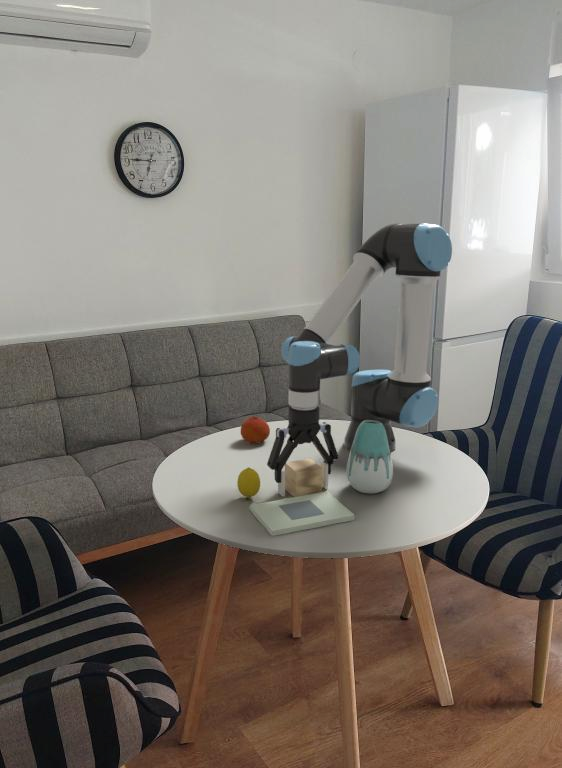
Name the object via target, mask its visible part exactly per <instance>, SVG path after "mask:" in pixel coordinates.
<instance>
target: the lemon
mask: <svg viewBox="0 0 562 768" xmlns="http://www.w3.org/2000/svg"><path fill="white" fill-rule="evenodd" d="M237 477H238V478H237V485H236V486H237V489H238V492H239V493H240V494H241V495H242V496H243V497H246V498H247V499H252V498H253V497H254V496H256V495H257V494H258V493H259V491H260V488H261V478H260V474H259V473H258V472H257V470H255V469H254V468H251V467H246V468H245V469H243V470H241V472H240V473H239V474H238V476H237Z"/></svg>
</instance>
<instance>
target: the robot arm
mask: <svg viewBox="0 0 562 768" xmlns="http://www.w3.org/2000/svg"><path fill="white" fill-rule="evenodd" d="M452 256H453V244H452V240H451V236H450V235H449V234H448V233H447V230H446V229H445V228H444V227H442V226H441V225H438V224H434V223H433V224H431V223H426V222H425V223H397V222H396V223H391V224H387V225H385V226H384V227H381V228H380V229H378V230H376V232H374V233H373V234H372V235H371V236H369V238H368V239H366V240H365V241H364V242H363V243H362V245H361V246H360V247H359V248H358V250H357V251H356V252H355V254H354V255H353V258H352V259H353V262H352V263H351V265H350V267H349V268H348V269H347V271H346V272H344V274H343V276H341V278H340V280H339V281H338V282H337V284H336V285H335V287H334V288H333V289H332V290H331V292H330V293H329V294H328V295H327V297H326V298H325V300H324V301H323V302H322V303H321V305H319V308H318V310H316V312H315V313H314V314H313V316H312V317H311V319H310V320H309V322H308V323H307V324H306V325H305V326H304V327H303V330H301V332H300V333H299V334H298V336H295V335H294V336H289V337H287V338H286V339H285V340H284V341H283V343H282V346H281V351H280V352H281V356H282V358H283V360H284V361H285V362H286V363H287V365H288V367H287V368H288V405H289V406H288V415H287V417H288V424H287V425H288V426H287V428H280V427H277V428H276V429H275V439H274V442H273V445H272V448H271V451H270V455H269V457H268V460H267V462H266V465H267V467H268V468H269V469H270V470H272V471H273V470H274V481H275V482H276V483H277V493H278V494H279V495H280V496H281V497H285V496H286V489H285V469H284V468H285V464H286V462H288V461H289V458H290V456H291V455H292V454H293V452H294V450H295V449H296V448H297V447H298V446H299V445H304V444H306V443H307V444H313V446H314V448H316V450H317V452H318V453H319V455H320V456H321V457H322V459H323V460H320V467H322V489H323V488H324V489H325V490H326V489H328V488H329V475H331V473H332V465H333V464H334V461H335V460H336V461H337V460H339V454H338V451H337V447H336V444H335V442H334V439H333V436H332V426H331V424H329V423H328V422H326V421H324V422H322V423H320V422H319V421H320V403H321V402H320V398H321V397H320V394H321V391H320V390H321V380H326V379H332V378H336V377H342V376H343V377H345V376H347V375H350V374H353V375H352V380H351V385H350V386H351V393H350V394H351V395H350V396H351V397H350V401H351V403H350V405H351V406H350V423H349V425H348V427H347V430H346V433H345V436H344V440H343V441H344V443H343V444H344V445H343V446H344V447H345V448H346V449H347V450H349V451H350V450H351V447H352V444H353V441H354V438H355V434H356V431H357V429H358V427H359V425H360V424H361V422H362V421H364V420H373V421H379V422H381V423H382V424H383V425H384V427H385V430H386V434H387V440H388V445H389V449H390V453H392V452H393V451H394V450H395V449H396V442H397V441H396V437H395V434H394V430H393V427H392V423H391V422H394V423H397V424H400V425H401V426H404V427H411V428H415V429H416V428H422V427H424V426H426V425H427V424H428V423H429V422H430V421H431V419H433V417H434V416H435V414H436V412H437V409H438V405H439V396H438V394H437V390H435V389H433V387H431V384H432V378H431V376H430V375H429V374H428V373H427V363H428V352H429V342H430V341H429V339H430V329H431V328H430V327H431V320H432V319H431V318H432V307H433V306H432V305H433V293H434V285H435V282H437V281H438V280H440V278H441V273H442V272H441V271H443V270H445V269H446V268H447V267H448V266H449V263H450V262H451V259H452ZM392 268H395V272H394V273H395V277H396V278H397V279H398V280H399V282H400V287H399V299H398V311H397V312H398V313H397V314H398V315H397V326H396V327H397V328H396V340H395V354H394V366H393V370H389V369H368V370H359V371H357V370H358V369H359V366H360V360H361V357H360V353H359V351H358V350H357V347H355V346H353V345H351V344H343V343H342V344H339V345H334V344H330V342H331V340H332V339H333V338H334V336H335V335H336V333H337V332H338V331H339V329H340V327H341V326H342V325H343V324H344V323H345V321H346V320H347V319H348V317H349V316H350V314H351V313H352V312H353V310H354V309H355V307H356V306H357V305H358V303H359V302H360V301H361V299H362V297H364V295H365V294H366V292H367V291H368V290H369V289H370V287H371V286H372V284H373V283H374V281H375V280H376V279H380V278H382V277H383V276H384V274H385V273H386V272H387V271H389V270H390V269H392ZM320 432H321V433H322V437H323V439H324V441H325V445H326V448H327V450H328V451H327V450H326V449H325V447H324V446H323V444H322V442H321V440H320V439H319V438H318V436H317V435H318V433H320ZM287 435H289V437H288V439H287ZM285 438H286V439H287V440H286V444H285V446H284V443H285ZM283 446H284V447H283ZM282 448H283V449H282Z"/></svg>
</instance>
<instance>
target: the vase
mask: <svg viewBox="0 0 562 768" xmlns="http://www.w3.org/2000/svg"><path fill="white" fill-rule="evenodd" d="M393 477H394V464H393V458H392V455H391V452H390V449H389V445H388V440H387V434H386V430H385V427H384V425H383V424H382V423H381V422H379V421H373V420H364V421H362V422H361V424H360V425H359V427H358V429H357V431H356V434H355V438H354V441H353V444H352V447H351V450H349V455H348V458H347V463H346V479H347V481H348V483H349V484H350V486H351V487H352V488H353V489H354V490H355V491H358V492H359V493H362V494H379V493H382V492H384V491H385V490H386V489H388V487H389V486H390V484H392V481H393Z"/></svg>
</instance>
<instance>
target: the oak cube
mask: <svg viewBox="0 0 562 768" xmlns="http://www.w3.org/2000/svg"><path fill="white" fill-rule="evenodd" d="M284 470H285V491H287V492H288V493H289V494H290V495H291V496H293V497H298V496H304V495H310V494H315V493H321V492H323V487H322V467H321V465H320V464H318V463H317V462H315V461H314V460H312V459H311V458H304V459H299V460H293V461H292V460H291V461H287V462H286V464H285V465H284Z"/></svg>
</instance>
